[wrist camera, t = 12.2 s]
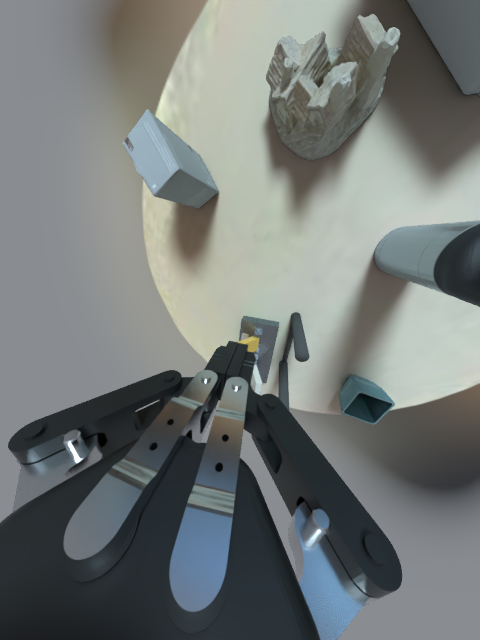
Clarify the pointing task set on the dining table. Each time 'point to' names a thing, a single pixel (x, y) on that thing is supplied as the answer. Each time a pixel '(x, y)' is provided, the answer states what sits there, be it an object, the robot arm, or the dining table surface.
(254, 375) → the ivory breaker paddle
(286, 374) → the cable posts
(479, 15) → the control panel
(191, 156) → the skincare box
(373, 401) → the flower pot
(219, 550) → the robot arm
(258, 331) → the strip
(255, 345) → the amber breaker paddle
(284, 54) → the jagged rock sculpture
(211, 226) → the dining table surface
